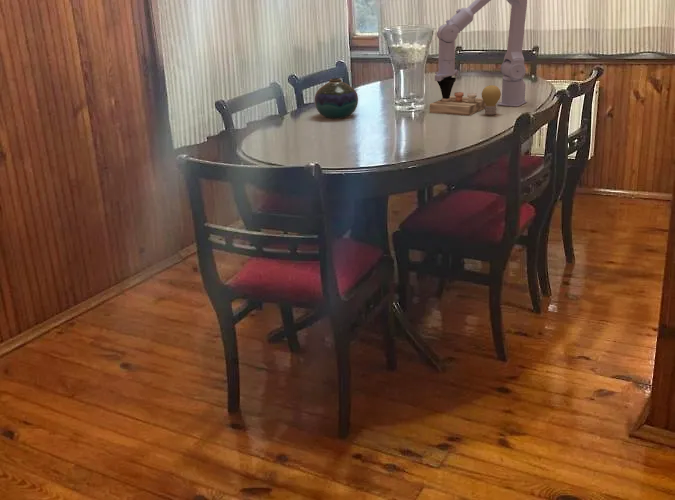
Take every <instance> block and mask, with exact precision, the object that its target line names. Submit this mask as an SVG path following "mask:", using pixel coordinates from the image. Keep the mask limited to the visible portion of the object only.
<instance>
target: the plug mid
mask: <svg viewBox="0 0 675 500" xmlns="http://www.w3.org/2000/svg"><path fill="white" fill-rule="evenodd" d="M453 96H454V97H456V100H455V101H458V102H460V101H462V97H465V96H464V92H463V91H461V92H460V91H459V92H454V95H453Z"/></svg>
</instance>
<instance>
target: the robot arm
mask: <svg viewBox="0 0 675 500" xmlns="http://www.w3.org/2000/svg"><path fill="white" fill-rule="evenodd" d="M491 1H492V0H473V2H472V3H471V4H470V5H468V7H462V8H458V9H456V11H455V12H456V13H455V14H454V15H453V16H451V17H450V19H446V21H445V24H442V25H440V26H439V27H438V29H437V32H436V37H437V39H438V60H437V61H438V62H437V63H438V65H437V66H438V71H435V74H434V81H435V82H437V84H438V86H439V89H440V92H441V96H442V98H443V99H449V98H450V96H451V93H452V90H453V87H454V84H455V82H456V79H457V78H456V77H454V76H458V75H459V70H458V69H456V68H455V67H456V66H455V63H456V46H455V45H456V40H457V38H458V36H459V35H458V34H460V33H461V32H462V31H463V30H464V29H465V28H467V26H468V25H470V24H471V23H473V20H474V15H475V14H476V13H478V12H479V11H480V10H481V9H482V8H484V6H486V5H487V4H488V3H489V2H491ZM506 2H507V3H508V4H510V6H511V7H510V16H509V17H510V18H509V26H508V27H509V28H508V38H507V39H508V40H507V51H506V53H505V54H504V56H503V57H504V58H503V62H502V63H501V66H500V72H501V74H502V75H503V76H502V77H501V78H502V80H501V82H502V83H501V88H502V89H501V101H500V102H497V103H496V106H506V107H520V106H522V105H524V104H526V103H528V100H526V82H525V80H524V76H525V75H526V72H527V69H526V65H525V58H524V55H523V47H524V35H525V27H526V20H527V19H526V18H527V7H528V0H506Z"/></svg>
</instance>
